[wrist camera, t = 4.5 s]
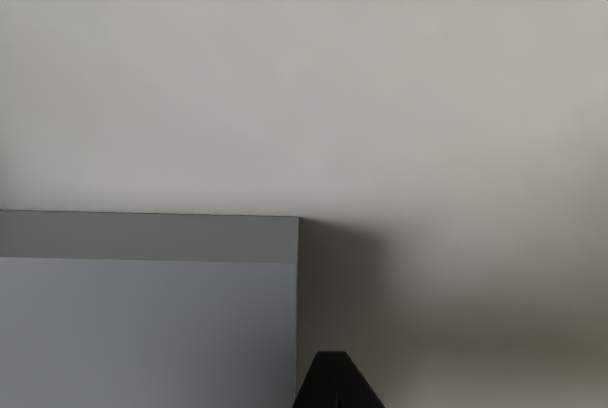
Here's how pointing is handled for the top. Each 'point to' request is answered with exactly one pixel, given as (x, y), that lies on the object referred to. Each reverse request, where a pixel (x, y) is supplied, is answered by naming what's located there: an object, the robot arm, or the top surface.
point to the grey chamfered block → (147, 310)
